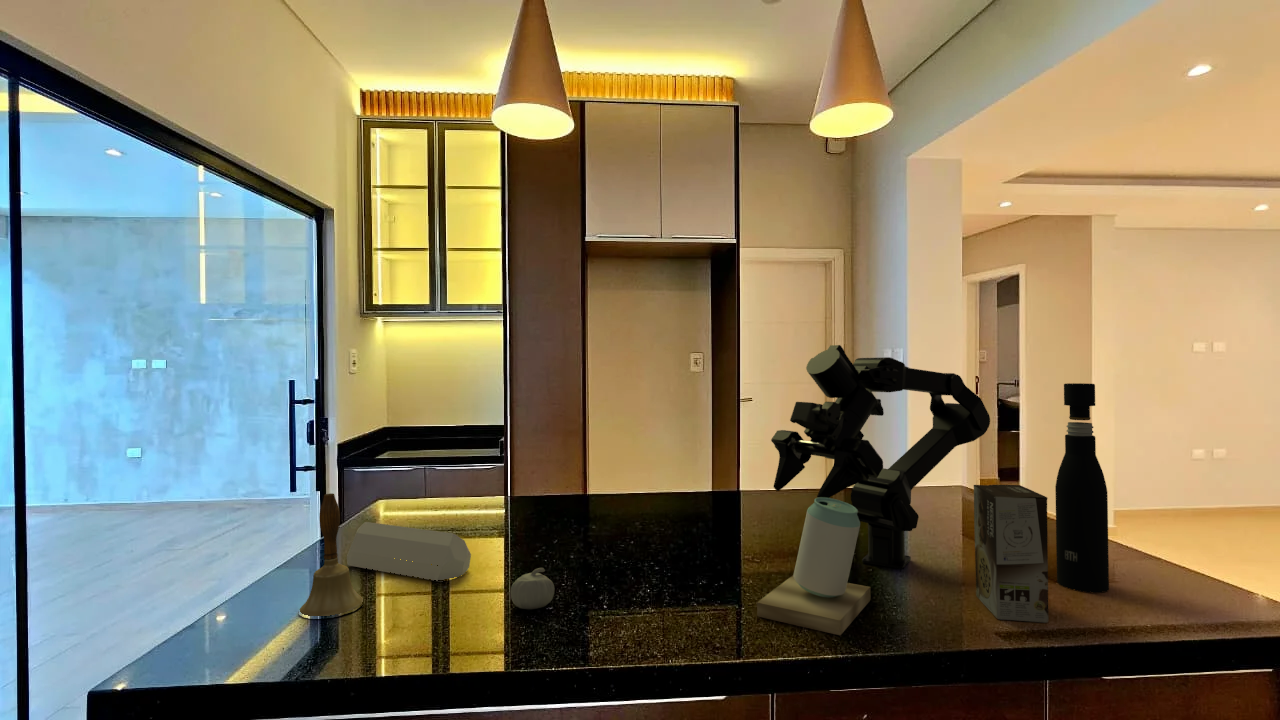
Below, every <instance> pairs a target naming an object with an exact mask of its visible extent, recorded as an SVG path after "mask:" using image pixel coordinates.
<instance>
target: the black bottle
mask: <svg viewBox="0 0 1280 720" xmlns="http://www.w3.org/2000/svg"><path fill="white" fill-rule="evenodd" d="M1063 406H1069V416H1068V418H1069V420H1070V421H1069V422H1067V425H1066V428H1067V430H1066V434H1065V436H1064V449H1065V450H1064V451H1065V453H1064V455H1063V457H1062V460H1061V463H1060V466H1059V468H1058V472H1057V476H1056V481H1055V486H1054V487H1055V490H1054V491H1055V540H1056V542H1055V544H1056V545H1055V546H1056V547H1055V548H1056V549H1055V551H1056V552H1055V553H1056V554H1055V555H1056V582H1057V583H1058V585H1060V586H1062V587H1064V588H1066V587H1067V589H1069V588H1070V590H1073V589H1075V590H1074V591H1077V590H1078V591H1077V592H1083V591H1084V592H1083V593H1091V592H1093V594H1095V593H1096V594H1097V593H1098V594H1100V593H1101V594H1102V593H1106V592H1108V591H1109V590H1110V572H1109V571H1110V570H1109V569H1110V568H1109V567H1110V566H1109V565H1110V564H1109V561H1110V560H1109V513H1108V511H1109V509H1108V507H1109V506H1108V503H1109V501H1108V498H1109V497H1108V487H1107V482H1106V479H1105V475H1104V471H1103V470H1102V467H1101V465H1100V462H1099V459H1098V457H1097V455H1096V453H1097V451H1096V449H1097V446H1096V436H1095V435H1093V433H1094V430H1093V429H1094V426H1093V423H1092V422H1084V421H1090V420H1091V419H1092V418H1091V410H1090V409H1091V407H1095V406H1096V384H1095V383H1085V382H1084V383H1081V382H1080V383H1075V382H1073V383H1070V382H1069V383H1063ZM1071 420H1072V421H1071ZM1078 421H1080V422H1078Z"/></svg>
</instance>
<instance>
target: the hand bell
mask: <svg viewBox="0 0 1280 720" xmlns="http://www.w3.org/2000/svg"><path fill="white" fill-rule="evenodd" d="M340 523H341V512H340V507H339V504H338V501H337V500H336V496H335V493H325V494H324V495H323V499H322V502H321V505H320V509H319V527H320V531H321V533H322V537H323V542H324V544H323V545H324V549H323V553H324V555H323V558H324V564H323V566H321V567H320V568H318V569H317V570H315V572H313V577H312V585H311V590H310V593H309V595H308V598H307V599H306V601H305V602H304V603H303V604H302V605H301V607H300V608H299V610H300V612H301V613H302V614H304V615H308V616H330V615H335V614H340V613H344V612H347V611H350V610H353V609H355V608H357V607H358V606H359V605H361V604H362V602H363V599H364V598H363V597H362V596H361V595H360V594H358V592H357V591H356V590H355V589H354V588H355V587H354V586H353V584H352V581H351V576H350V575H351V574H350V569H349V567H348V565H343V564H342V563H339V558H338V556H339V554H338V545H337V544H338V543H337V540H338V539H337V537H338V532H339V528H340Z"/></svg>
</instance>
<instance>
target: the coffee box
mask: <svg viewBox="0 0 1280 720" xmlns="http://www.w3.org/2000/svg"><path fill="white" fill-rule="evenodd" d="M1048 499H1049V498H1048V497H1047V496H1045V495H1043V494H1040V493H1039V492H1036V491H1034V490H1032V489H1030V488H1028V487H1025V486H1022V485H1021V484H1020V485H1019V484H973V514H974V515H973V517H974V519H973V520H974V527H973V528H974V553H975V554H974V556H975V558H974V559H975V560H974V562H975V563H974V565H975V566H974V567H975V596H976V598H977V599H979V601H980V602H981V603H982V604H983V605H984V606H985V607H986V608H987V610H989V612H991V614H992V615H993V616H994V617H995V618H996V619H998V620H1002V621H1003V620H1005V621H1015V622H1016V621H1018V622H1031V623H1043V624H1047V623H1048V622H1049V560H1048V559H1049V557H1048V556H1049V554H1048V553H1049V552H1048V550H1049V549H1048V545H1049V544H1048V542H1049V540H1048V539H1049V538H1048Z"/></svg>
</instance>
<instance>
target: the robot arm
mask: <svg viewBox="0 0 1280 720" xmlns="http://www.w3.org/2000/svg"><path fill="white" fill-rule="evenodd" d="M805 368H806V372H807V373H808V374H809V376H810V377H811V378H812V380H813V381H814V382H815V384H816V385H817V386H818V388H819V389H820V390H821V392H822V393H823V394H824V395H825V397H827V398H830V399H836V400H835V401H825V402H824V403H823V404H822V403H816V402H810V401H809V402H806V401H795V403H794V407H793V410H792V413H791V416H790V419H789V421H790V422H791V423H792V424H797V425H799V426H801V427H802V428H804V430H803V433H804V434H805V435H806V437H809V438H810V441H809V440H805V439H803V437H802V436H801V434H800V433H799V432H798V431H793V430H785V429H780V430H776V432H775V434H774V435H773V436H772V438H771V439H770V442H772V443H773V445H774V448H775V449H776V450H777V452H778V454H779V456H778V457H779V460H778V465H777V470H776V474H775V478H774V481H773V482H774V483H773V489H774V490H775V491H776V492H780V491H781V490H782V489H784V488H785V487H786V486H787V485H788V484H789V483H790V482H791V481H792V480H793V479H794V478H795V477H797V475H799V474H800V473H801V472H802V471H803V470H804V469H805V468H806V466H805V465H804V464H806V463H808V462H809V461H810V459H811V458H812V456H816V457H823V458H826V459H829V460H833V466H832V468H831V470H830V471H829V472H828V475H827V476H826V478H825V480H824V481H823V483H822V485H821V487H820V489H819V491H818V493H817V495H816V498H818V497H825V498H832V497H833V496H835V495H837V494H838V493H840V492H842V491H844V490H846V489H847V488H850V487H852V488H851V492H850V501H851V505H852V506H854V507H855V508H856V509H857V510H858V513H857V516H858V518H859V521H860V523H866V524H867V536H868V537H867V540H868V543H867V544H868V545H867V546H868V552H867V554H866V555H865V556H864V557H862V559H861V563H864V564H870V565H874V566H880V567H881V566H882V567H887V568H893V569H900V570H902V569H904V568H905V567H906V566H907V564H908V563H909V562H911V560H912V559H911V556H909V555H905V553H906V551H905V549H906V547H905V546H906V545H905V538H906V537H905V536H906V535H905V532H913V530H914V529H916V528H917V527H918V521H919V514H918V512H916V510H915V509H914V508H913V506H912V505H911V503H912V490H913V489H914V488H915V487H916V486H917V485H918V484H919V483H920V482H921V481H922V480H923V479H924V478H925V477H926V476H927V475H928V474H929V473H931V471H932V470H933V469H934V468H935V467H936V466H937V465H939V464H940V463H941V461H943V459H945V458H946V456H948V455H949V454H950V453H951V452H952V451H953V450H954V449H955V448H956V447H957V446H961V445H964V444H968V443H971V442H975V441H976V440H977V439H980V437H982V436H984V435H985V434H986V432H988V429H989V428H990V424H991V416H990V414H989V412H988V410H987V408H986V406H985V404H984V401H983V399H982V398H981V397H979V396H978V395H977V394H976V393H975V392H974V391H972V389H971V388H969V387H967V386H966V384H965V383H964V381H963V378H962V377H961V376H960V375H959V374H956V373H952V372H940V371H939V372H938V371H932V370H926V369H918V368H911V367H908V366H906V365H905V363H904V362H903V361H900V360H898V359H895V358H892V357H889V356H888V357H857V358H855V360H854V362H853V363H852V361H851V359H850V358H849V357H848V355H847V354H846V351H845V350H844V347H842V345H841V344H835V345H834V344H833V345H832V344H830V345H829V347H828V348H827V349H826V350H824V351H821V352H819V353H818V354H816V355H815V356H813V357H812V358H810V359H809V361H808V362H807V364H806V367H805ZM903 390H905V391H913V392H919V393H928V394H929V395H930V397H931V399H930V404H929V405H930V406H929V410H930V412H931V414H932V415H933V416H932V428H930V430H928V431H927V432H926V433H925V434H924V435H923V436H922V437H921V438H920V439H919V440H918V441H917V442H915V443H914V444H913V445H912V446H911V447H910V448H909V449H908V450H907V451H906V452H905V453H903V454H902V455H901V456H900V457H899V458H898V459H897V460H896V461H895V462H893V464H892V465H891V466H890V467H888V468H884V461H883V459H882V457H881V456H880V454H879V453H878V452H877V451H876V449H875V447H874V446H873V445H872V444H871V443H870V441H869V440H868V439H863V438H864V436H865V434H864V433H863V432H862V431H861V430H862V428H863V427H864V425H865V424H866V422H867V421H868V420H869V418H870V417H871V416H879V417H880V416H884V415H885V414H884V413H885V412H884V407H883V406H882V400H881V399H880V398H876V395H874V393H895V392H902V391H903ZM943 396H950V397H952V398H953V400H955V402H956V403H951V402H945V401H944V400H943Z"/></svg>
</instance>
